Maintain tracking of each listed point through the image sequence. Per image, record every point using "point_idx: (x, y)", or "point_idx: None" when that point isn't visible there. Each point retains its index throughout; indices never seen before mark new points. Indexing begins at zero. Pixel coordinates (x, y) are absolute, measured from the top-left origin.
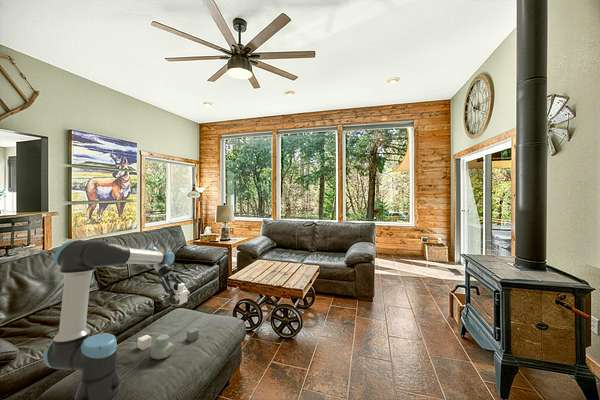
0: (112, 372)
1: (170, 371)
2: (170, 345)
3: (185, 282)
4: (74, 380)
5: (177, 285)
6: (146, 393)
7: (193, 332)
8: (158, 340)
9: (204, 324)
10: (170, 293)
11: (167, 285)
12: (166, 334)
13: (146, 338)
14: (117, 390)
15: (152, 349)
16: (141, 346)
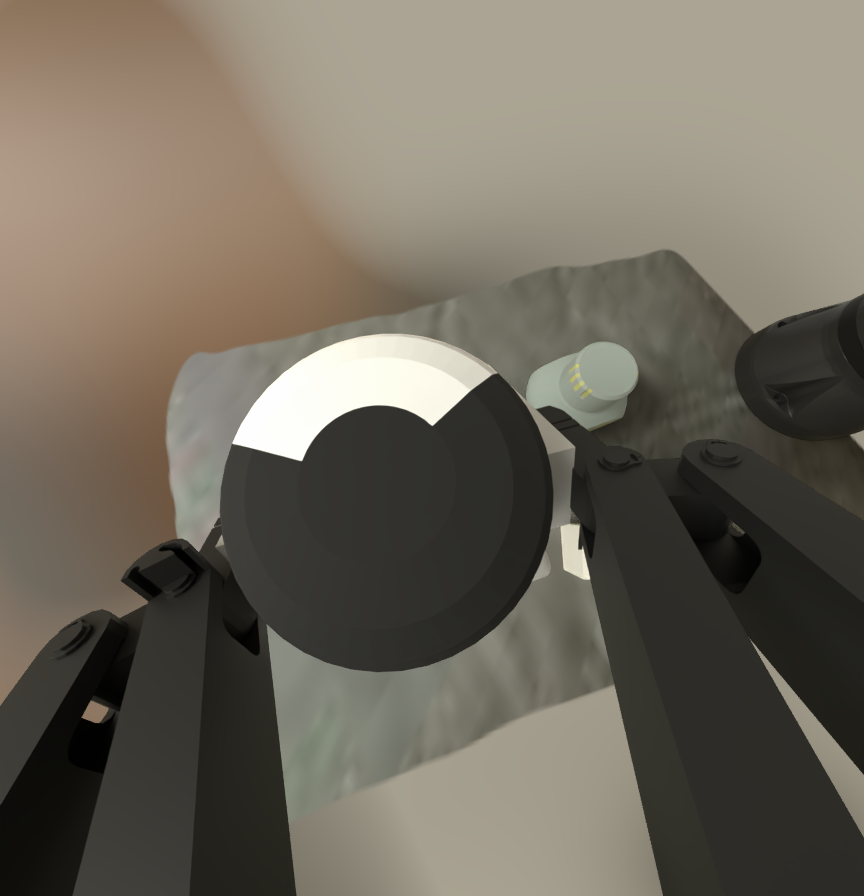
0: (860, 295)
1: (589, 294)
2: (558, 361)
3: (75, 628)
4: None
5: (502, 387)
6: (684, 264)
7: None
8: (634, 360)
9: None
10: (546, 556)
11: (857, 580)
12: (581, 376)
13: None
14: (757, 332)
15: (623, 406)
16: None
